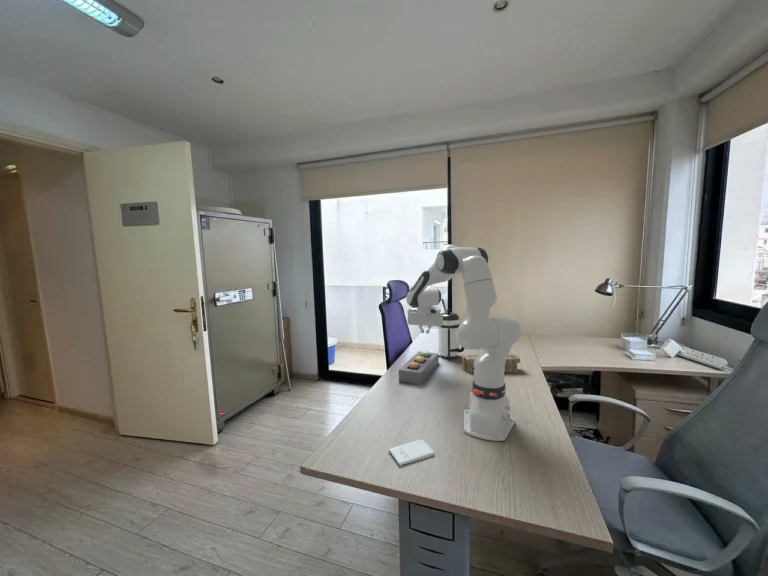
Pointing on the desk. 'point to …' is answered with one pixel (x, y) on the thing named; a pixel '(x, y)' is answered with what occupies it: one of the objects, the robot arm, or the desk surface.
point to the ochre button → (419, 359)
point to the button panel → (423, 371)
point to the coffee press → (449, 335)
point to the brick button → (413, 365)
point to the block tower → (469, 359)
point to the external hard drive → (411, 452)
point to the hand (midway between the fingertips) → (425, 333)
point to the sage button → (425, 353)
